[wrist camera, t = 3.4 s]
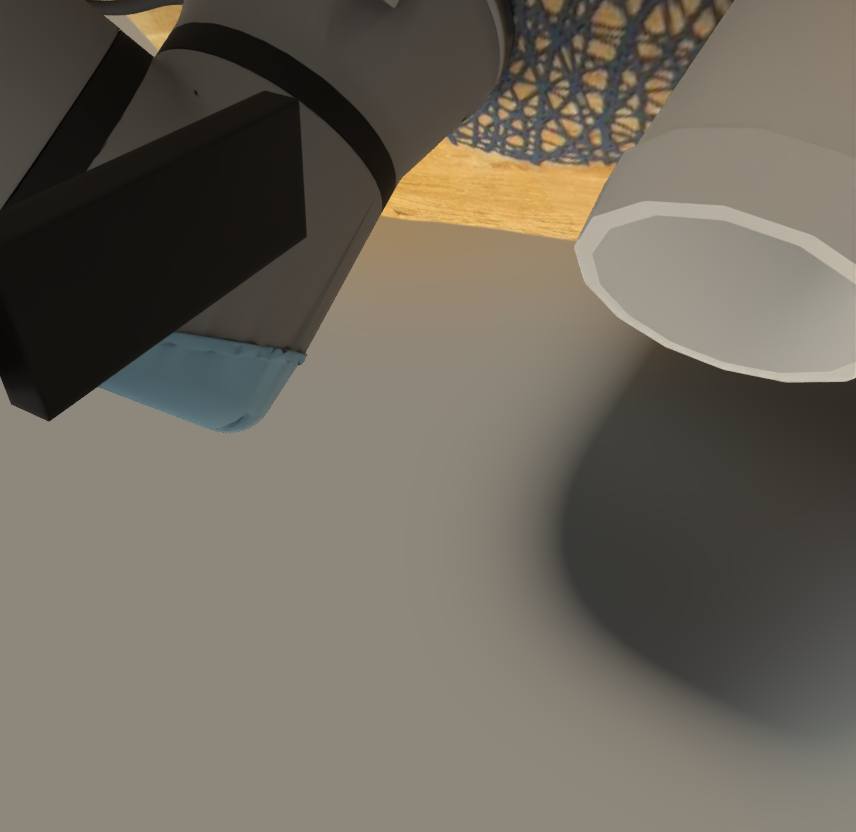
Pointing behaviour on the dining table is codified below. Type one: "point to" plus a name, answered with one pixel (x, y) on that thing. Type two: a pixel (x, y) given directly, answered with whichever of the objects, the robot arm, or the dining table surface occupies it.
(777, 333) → the foam cup
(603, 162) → the dining table surface
